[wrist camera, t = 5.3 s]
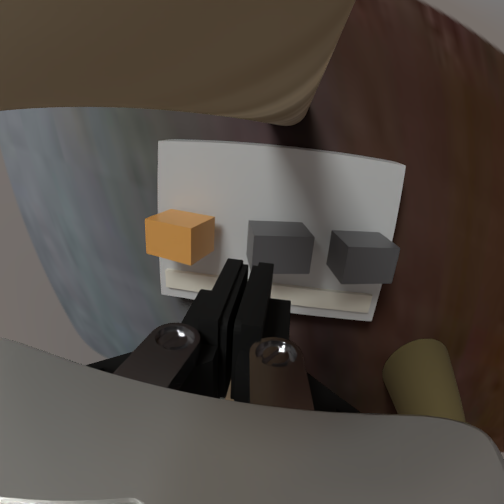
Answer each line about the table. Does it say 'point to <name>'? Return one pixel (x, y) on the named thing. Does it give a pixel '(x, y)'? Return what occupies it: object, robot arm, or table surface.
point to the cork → (423, 381)
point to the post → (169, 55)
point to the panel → (278, 213)
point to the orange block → (180, 235)
